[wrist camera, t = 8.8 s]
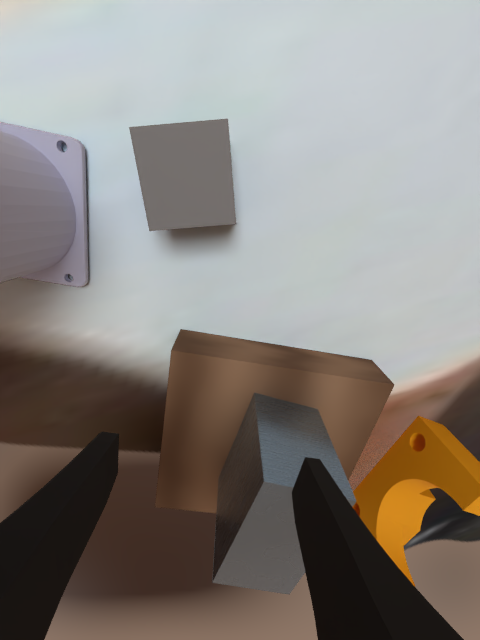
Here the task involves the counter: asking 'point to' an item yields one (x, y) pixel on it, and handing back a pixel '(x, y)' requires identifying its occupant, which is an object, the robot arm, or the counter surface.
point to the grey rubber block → (185, 174)
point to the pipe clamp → (415, 485)
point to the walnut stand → (235, 396)
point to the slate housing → (268, 494)
